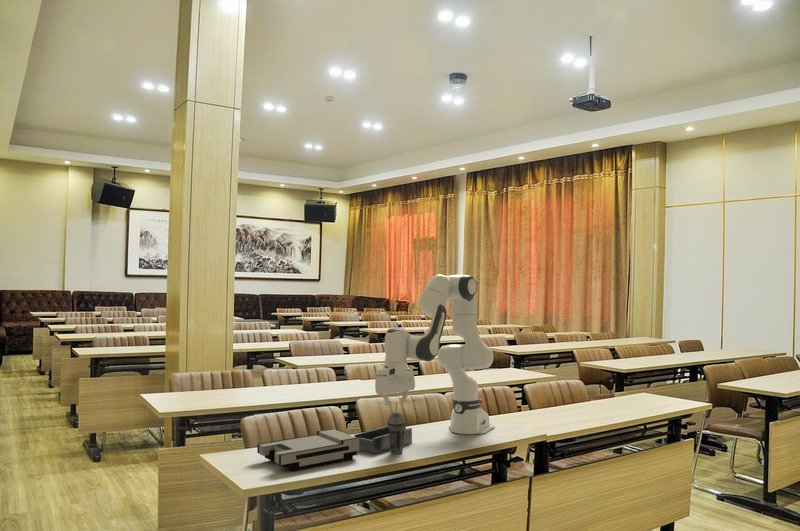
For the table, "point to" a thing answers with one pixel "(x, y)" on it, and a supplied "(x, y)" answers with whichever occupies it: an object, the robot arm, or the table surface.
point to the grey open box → (379, 440)
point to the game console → (311, 450)
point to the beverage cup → (396, 432)
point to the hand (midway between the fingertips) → (395, 404)
